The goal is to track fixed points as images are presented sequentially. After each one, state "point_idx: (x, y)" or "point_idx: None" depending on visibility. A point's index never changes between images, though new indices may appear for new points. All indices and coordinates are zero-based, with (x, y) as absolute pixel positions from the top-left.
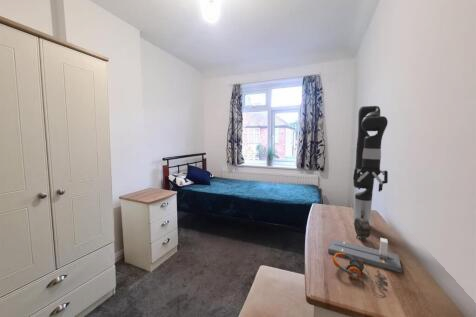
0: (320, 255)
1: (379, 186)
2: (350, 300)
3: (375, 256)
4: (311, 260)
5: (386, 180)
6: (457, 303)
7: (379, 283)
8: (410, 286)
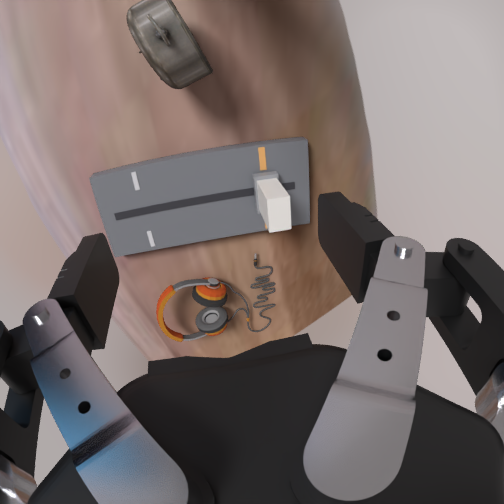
0: None
1: (348, 280)
2: None
3: (245, 204)
4: (112, 311)
5: (460, 328)
6: None
7: (260, 301)
8: (316, 261)
